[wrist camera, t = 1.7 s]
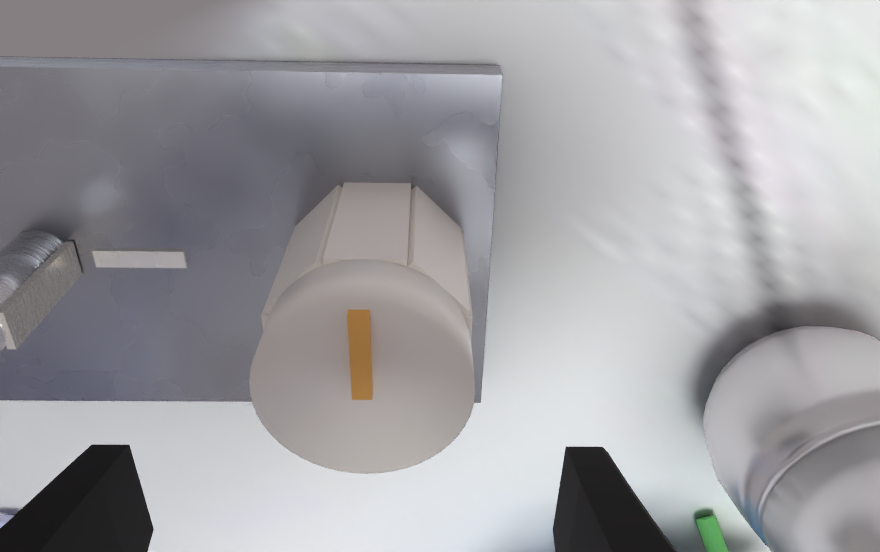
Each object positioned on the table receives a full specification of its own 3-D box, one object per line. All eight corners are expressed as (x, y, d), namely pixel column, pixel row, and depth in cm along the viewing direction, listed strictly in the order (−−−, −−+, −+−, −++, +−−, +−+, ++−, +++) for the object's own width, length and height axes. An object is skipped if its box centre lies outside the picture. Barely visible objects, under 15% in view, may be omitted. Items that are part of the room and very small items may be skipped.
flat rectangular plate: (-27, 378, 21) (-128, 489, 17) (-163, 53, 16) (-348, 107, 12) (478, 382, 22) (489, 490, 18) (498, 65, 17) (520, 120, 13)
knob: (459, 329, 19) (471, 480, 14) (303, 328, 19) (260, 480, 14) (465, 184, 17) (481, 305, 12) (288, 181, 17) (232, 303, 12)
